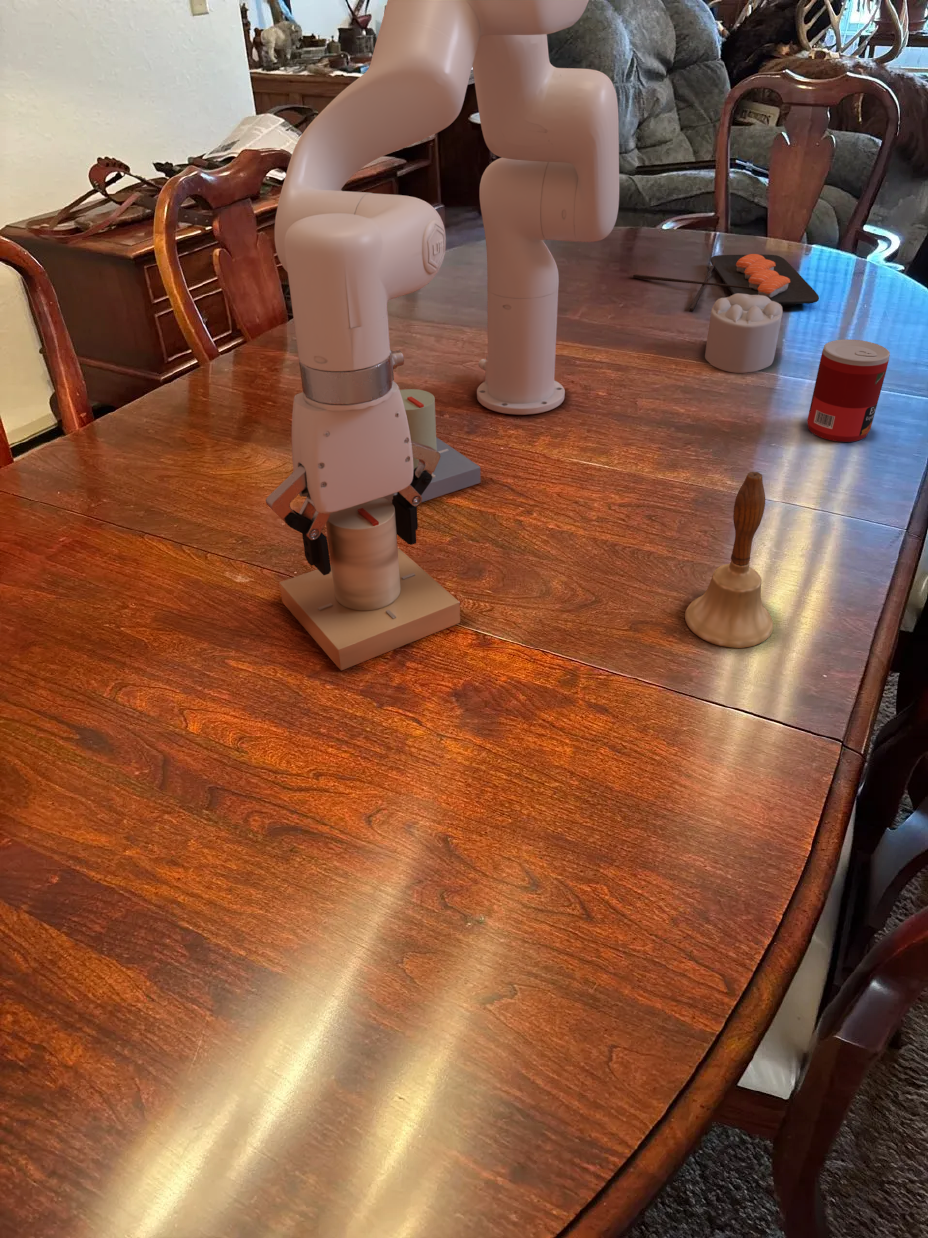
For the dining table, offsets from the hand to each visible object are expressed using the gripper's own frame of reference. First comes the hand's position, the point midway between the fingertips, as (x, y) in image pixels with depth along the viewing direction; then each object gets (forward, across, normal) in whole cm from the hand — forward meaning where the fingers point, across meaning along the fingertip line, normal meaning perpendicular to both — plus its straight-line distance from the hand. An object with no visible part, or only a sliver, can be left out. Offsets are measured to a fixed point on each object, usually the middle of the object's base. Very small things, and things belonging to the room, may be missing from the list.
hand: (363, 552), depth 87 cm
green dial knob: (+5, -18, -22) cm, 29 cm away
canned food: (+7, -71, -1) cm, 71 cm away
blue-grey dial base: (+7, -18, -22) cm, 29 cm away
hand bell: (+7, -28, +21) cm, 36 cm away
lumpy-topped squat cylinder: (+7, -80, -27) cm, 85 cm away
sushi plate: (+7, -103, -54) cm, 117 cm away
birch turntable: (+7, 0, 0) cm, 7 cm away
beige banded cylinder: (+5, 0, 0) cm, 5 cm away
